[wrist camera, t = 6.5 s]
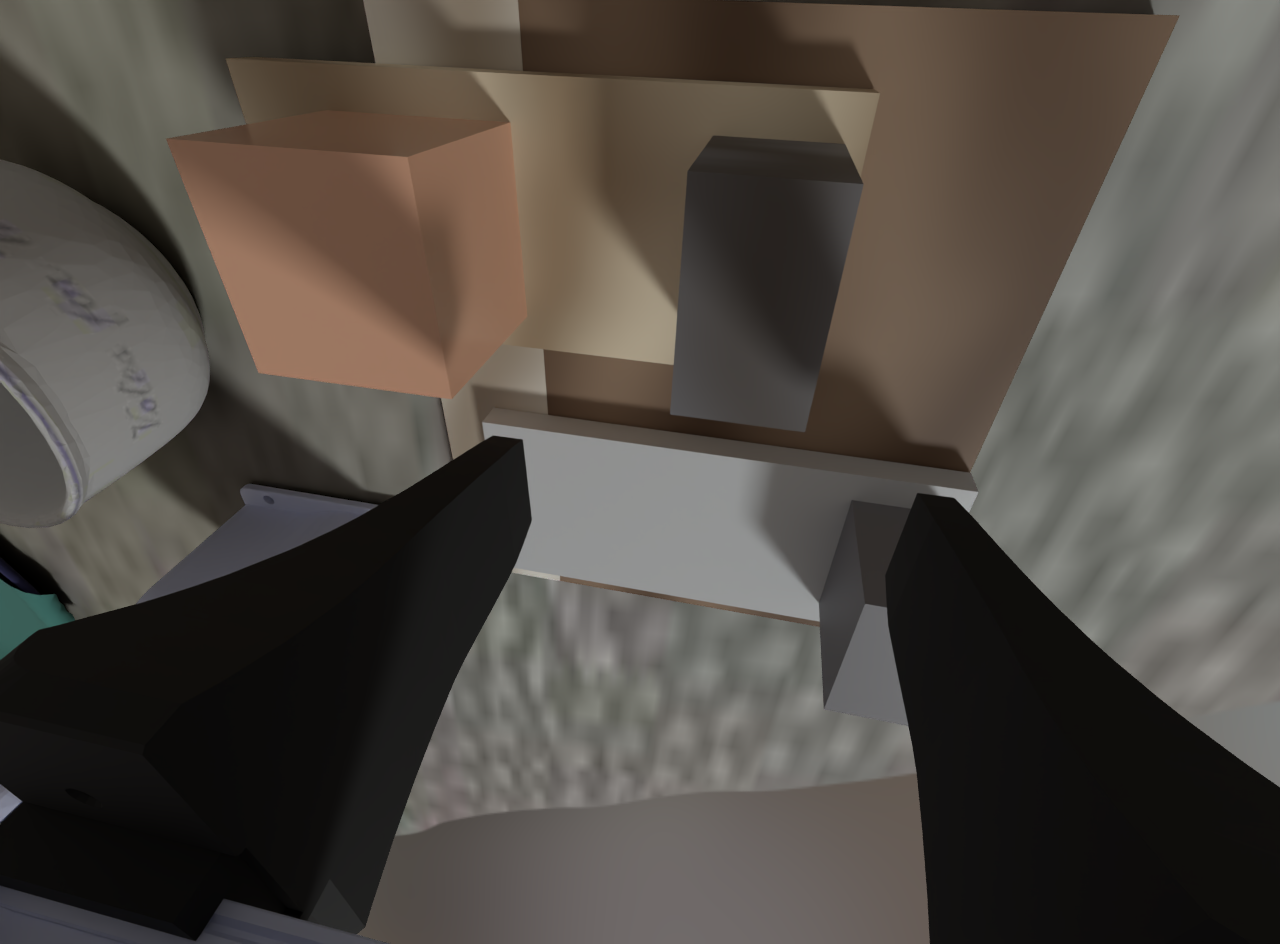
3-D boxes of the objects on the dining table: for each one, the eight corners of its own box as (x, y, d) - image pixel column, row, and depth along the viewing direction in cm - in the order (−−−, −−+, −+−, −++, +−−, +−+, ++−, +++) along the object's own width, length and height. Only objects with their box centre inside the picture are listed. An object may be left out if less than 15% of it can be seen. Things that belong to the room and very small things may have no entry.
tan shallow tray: (328, 309, 20) (204, 384, 16) (253, 57, 16) (57, 67, 12) (811, 366, 18) (818, 472, 14) (875, 89, 14) (912, 117, 9)
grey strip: (512, 549, 25) (457, 654, 21) (493, 407, 21) (418, 502, 17) (904, 616, 23) (930, 749, 19) (970, 472, 19) (1022, 601, 15)
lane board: (482, 549, 27) (473, 565, 27) (383, -10, 15) (361, -12, 14) (890, 620, 25) (893, 640, 24) (1155, 16, 13) (1180, 15, 12)
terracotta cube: (372, 298, 18) (258, 373, 14) (326, 110, 15) (165, 138, 11) (527, 316, 18) (451, 399, 14) (510, 122, 15) (407, 156, 11)
